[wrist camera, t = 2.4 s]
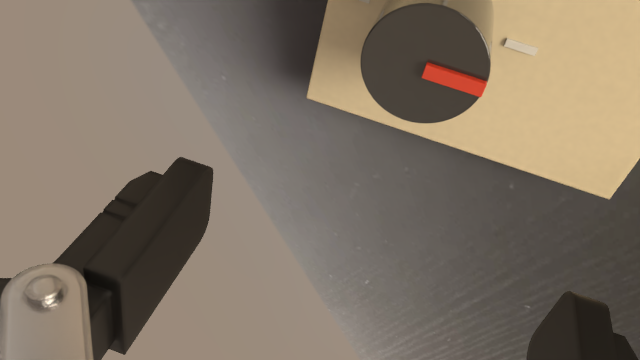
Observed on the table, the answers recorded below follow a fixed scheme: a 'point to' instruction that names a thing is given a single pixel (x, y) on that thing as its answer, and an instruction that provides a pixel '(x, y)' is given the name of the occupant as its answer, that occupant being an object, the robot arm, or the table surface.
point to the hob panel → (520, 88)
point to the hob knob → (428, 57)
